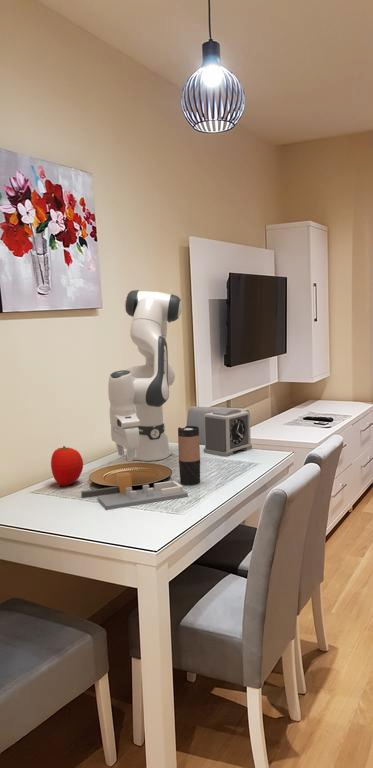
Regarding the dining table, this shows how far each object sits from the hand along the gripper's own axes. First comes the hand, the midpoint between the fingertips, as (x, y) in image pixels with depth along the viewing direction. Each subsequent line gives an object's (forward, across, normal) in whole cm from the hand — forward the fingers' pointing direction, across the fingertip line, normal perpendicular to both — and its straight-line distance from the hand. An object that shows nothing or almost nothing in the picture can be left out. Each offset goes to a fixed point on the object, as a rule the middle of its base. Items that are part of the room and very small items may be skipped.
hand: (125, 458), depth 215 cm
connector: (+12, -1, -7) cm, 14 cm away
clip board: (+12, +10, +2) cm, 16 cm away
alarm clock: (+12, -34, +57) cm, 67 cm away
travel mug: (+12, +1, +23) cm, 26 cm away
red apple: (+12, -20, -16) cm, 28 cm away
